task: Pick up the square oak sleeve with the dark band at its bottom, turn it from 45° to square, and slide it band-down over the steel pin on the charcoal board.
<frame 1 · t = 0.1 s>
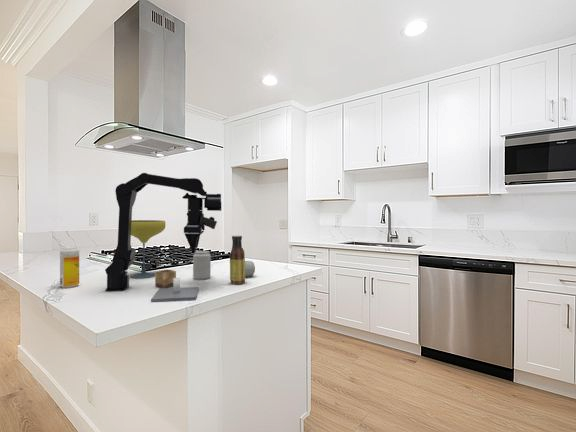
hand: (194, 249, 122), 14 cm above the table, fingers open, 9 cm apart
cocktail glass: (143, 276, 139), on the table
can: (201, 278, 136), on the table
pin board: (176, 295, 108), on the table
sauce bottle: (237, 283, 128), on the table
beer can: (69, 286, 119), on the table
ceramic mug: (242, 276, 141), on the table
oak sleeve: (165, 286, 121), on the table
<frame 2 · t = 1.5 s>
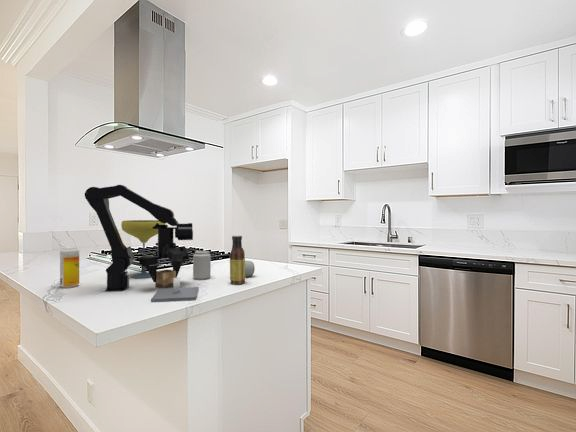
hand: (165, 279, 121), 3 cm above the table, fingers open, 9 cm apart
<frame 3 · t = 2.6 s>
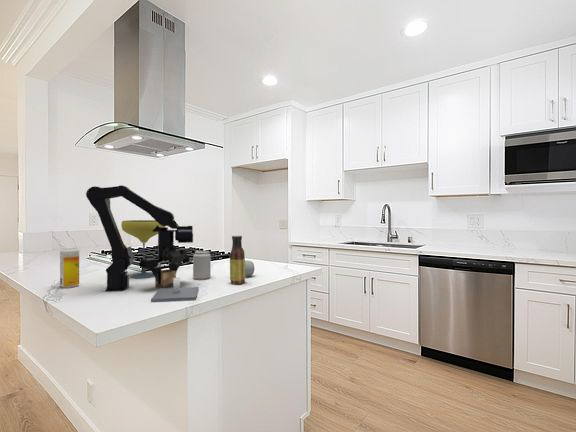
hand: (165, 282, 121), 2 cm above the table, fingers closed on oak sleeve, 5 cm apart
oak sleeve: (165, 286, 121), on the table, touching gripper
everything else where it was.
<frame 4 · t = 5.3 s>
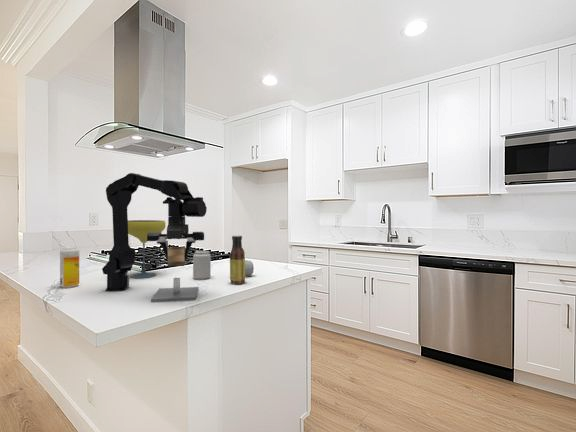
hand: (176, 260, 109), 12 cm above the table, fingers closed on oak sleeve, 5 cm apart
oak sleeve: (176, 264, 109), point 11 cm above the table, touching gripper
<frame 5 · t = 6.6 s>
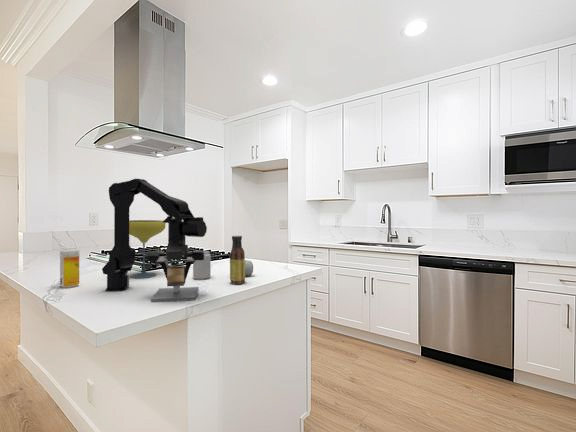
hand: (176, 280, 108), 5 cm above the table, fingers closed on oak sleeve, 5 cm apart
oak sleeve: (176, 284, 108), point 4 cm above the table, touching gripper
when the fingers open (3 cm above the table, at t = 7.8 s): oak sleeve stays where it is, resting on pin board.
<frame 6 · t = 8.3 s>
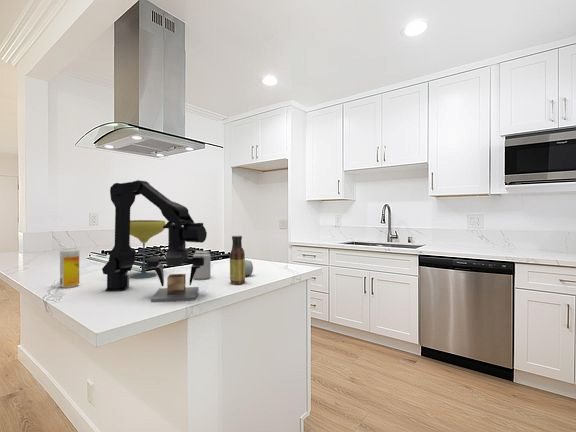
hand: (176, 285, 108), 3 cm above the table, fingers open, 9 cm apart
oak sleeve: (176, 292, 108), point 1 cm above the table, touching pin board
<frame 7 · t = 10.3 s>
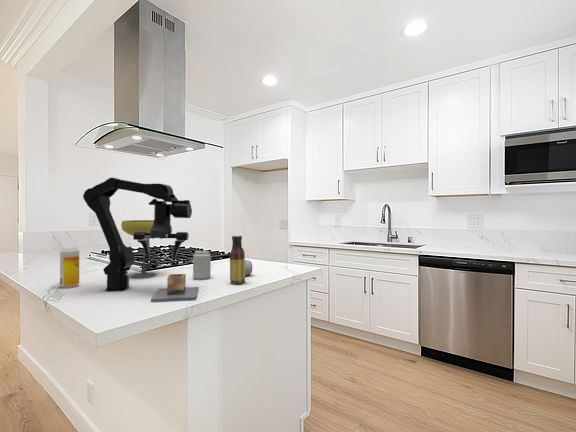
hand: (161, 258, 116), 12 cm above the table, fingers open, 9 cm apart
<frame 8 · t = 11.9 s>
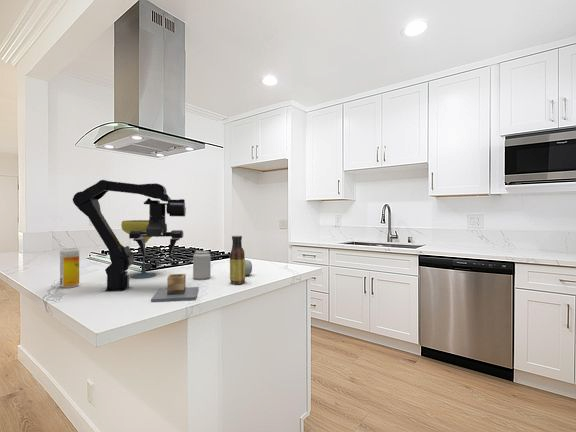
hand: (157, 256, 119), 12 cm above the table, fingers open, 9 cm apart
at the end: oak sleeve 0.0 cm off-centre on the pin board, point 1.0 cm above the pin board's base; oak sleeve tilted 0°; the gripper is holding nothing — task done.
